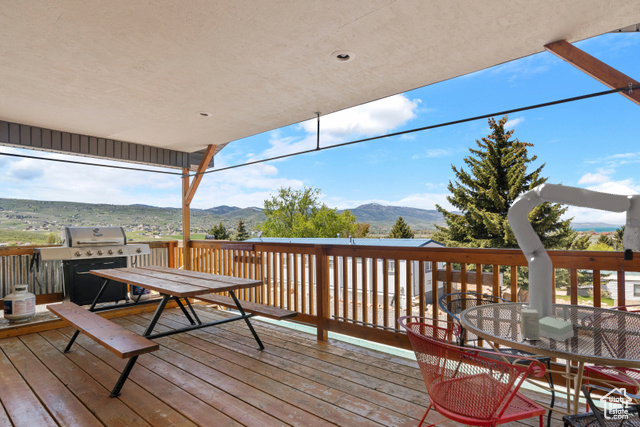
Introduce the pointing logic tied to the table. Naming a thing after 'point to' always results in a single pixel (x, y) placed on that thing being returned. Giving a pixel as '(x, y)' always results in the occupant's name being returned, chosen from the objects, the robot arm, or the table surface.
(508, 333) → the table surface
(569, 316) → the table surface
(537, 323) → the skincare box
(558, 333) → the top slab
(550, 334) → the bottom slab
